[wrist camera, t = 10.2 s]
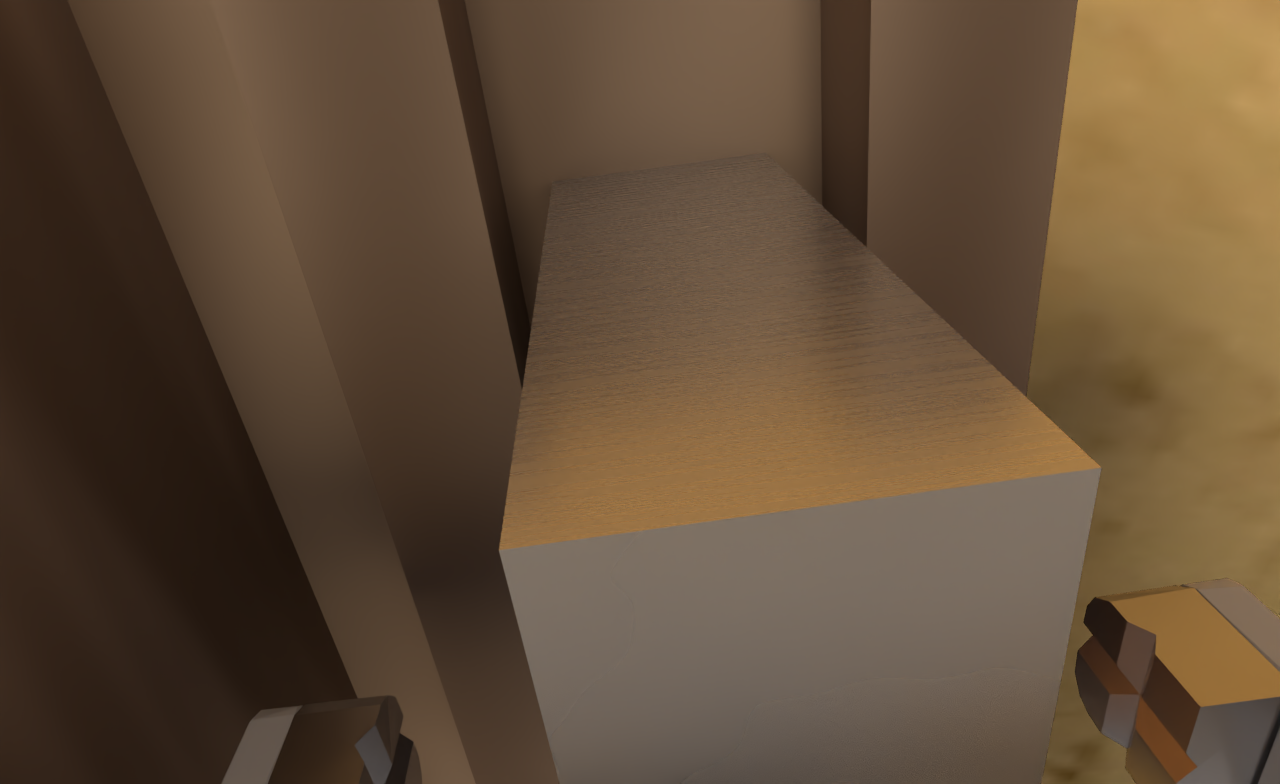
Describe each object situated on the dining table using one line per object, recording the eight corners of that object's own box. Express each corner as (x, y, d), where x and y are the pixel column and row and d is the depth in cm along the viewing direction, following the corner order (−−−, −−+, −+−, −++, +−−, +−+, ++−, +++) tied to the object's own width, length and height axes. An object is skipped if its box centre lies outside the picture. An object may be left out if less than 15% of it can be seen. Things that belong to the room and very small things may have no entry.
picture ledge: (955, -203, 10) (2165, -794, 2) (902, 717, 19) (1136, 1255, 11) (-90, -63, 10) (-2295, -203, 2) (326, 796, 19) (139, 1394, 11)
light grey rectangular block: (779, 150, 11) (1140, 462, 4) (797, 661, 16) (974, 1224, 9) (552, 182, 11) (499, 550, 4) (637, 683, 16) (684, 1264, 9)
